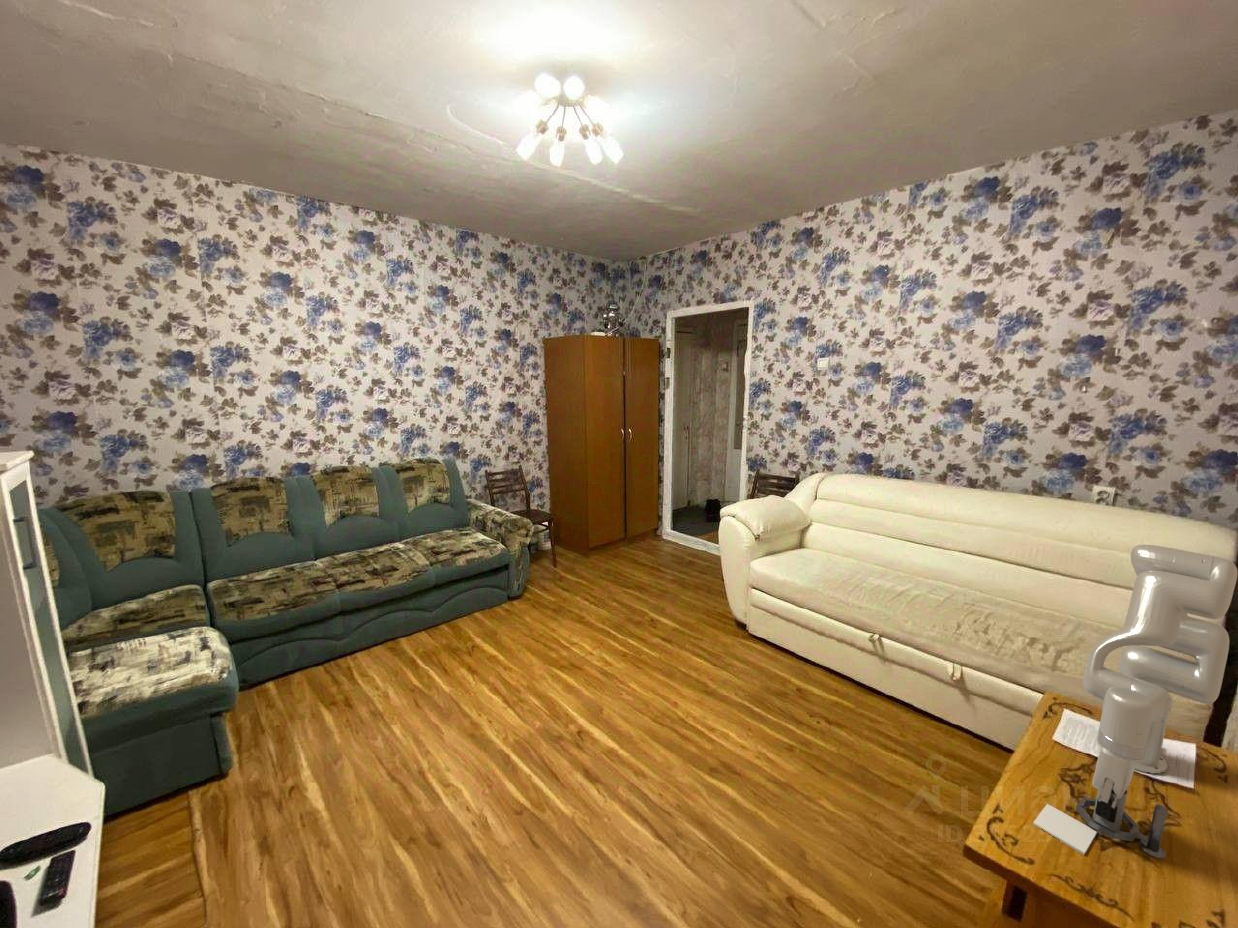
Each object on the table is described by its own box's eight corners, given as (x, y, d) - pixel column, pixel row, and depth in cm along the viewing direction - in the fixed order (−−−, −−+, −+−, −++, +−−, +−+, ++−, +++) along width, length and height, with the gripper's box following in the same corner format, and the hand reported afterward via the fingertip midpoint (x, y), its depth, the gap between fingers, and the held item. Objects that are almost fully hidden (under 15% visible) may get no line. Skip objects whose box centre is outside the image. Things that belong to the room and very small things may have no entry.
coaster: (1046, 805, 120) (1047, 803, 120) (1096, 833, 112) (1097, 831, 112) (1032, 824, 115) (1033, 822, 115) (1084, 855, 107) (1084, 852, 107)
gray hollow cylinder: (1125, 833, 112) (1132, 795, 110) (1101, 830, 113) (1109, 792, 111) (1110, 816, 116) (1117, 778, 114) (1087, 813, 117) (1094, 776, 115)
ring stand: (1084, 800, 121) (1091, 761, 119) (1170, 845, 109) (1179, 803, 107) (1071, 820, 116) (1078, 779, 114) (1160, 870, 104) (1169, 826, 102)
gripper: (1109, 718, 118) (1097, 783, 122) (1086, 749, 109) (1074, 818, 112) (1154, 737, 112) (1140, 805, 115) (1134, 771, 103) (1120, 844, 106)
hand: (1108, 811), depth 114 cm, fingers closed on gray hollow cylinder, 4 cm apart
